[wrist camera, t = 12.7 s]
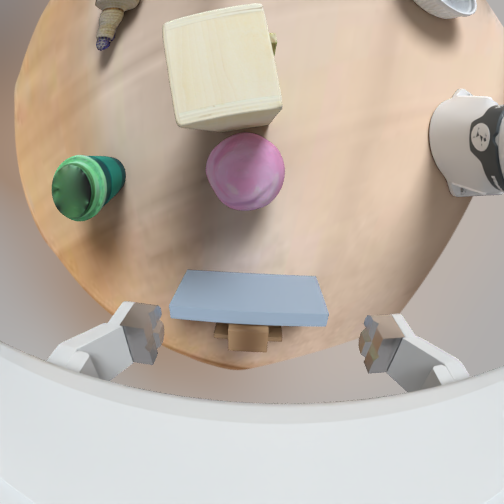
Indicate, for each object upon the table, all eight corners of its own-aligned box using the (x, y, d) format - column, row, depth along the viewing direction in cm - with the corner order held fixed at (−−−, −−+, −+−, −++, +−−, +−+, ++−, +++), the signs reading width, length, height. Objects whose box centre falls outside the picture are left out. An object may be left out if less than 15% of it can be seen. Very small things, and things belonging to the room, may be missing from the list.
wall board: (315, 276, 42) (328, 313, 33) (308, 316, 45) (317, 357, 36) (187, 269, 42) (169, 305, 33) (190, 310, 45) (176, 350, 36)
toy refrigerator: (276, 125, 34) (294, 107, 14) (221, 134, 34) (172, 128, 15) (266, 71, 30) (272, -2, 11) (212, 80, 31) (158, 21, 12)
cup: (98, 145, 35) (48, 154, 24) (143, 153, 35) (99, 161, 24) (93, 195, 38) (46, 217, 27) (135, 205, 38) (93, 232, 27)
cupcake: (205, 151, 35) (186, 155, 26) (264, 124, 33) (265, 118, 24) (233, 208, 38) (224, 231, 29) (291, 183, 37) (301, 198, 27)
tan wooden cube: (267, 302, 39) (268, 332, 33) (265, 323, 41) (266, 355, 34) (233, 300, 39) (227, 330, 33) (232, 321, 41) (228, 352, 35)
